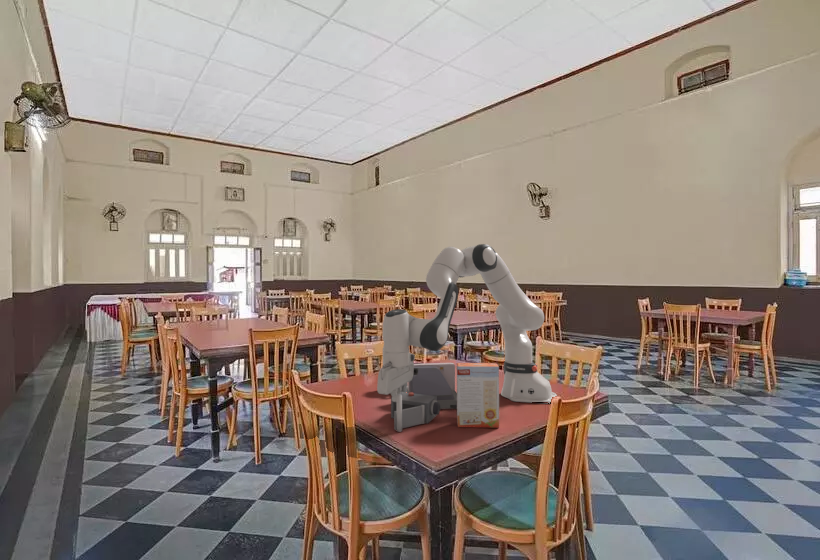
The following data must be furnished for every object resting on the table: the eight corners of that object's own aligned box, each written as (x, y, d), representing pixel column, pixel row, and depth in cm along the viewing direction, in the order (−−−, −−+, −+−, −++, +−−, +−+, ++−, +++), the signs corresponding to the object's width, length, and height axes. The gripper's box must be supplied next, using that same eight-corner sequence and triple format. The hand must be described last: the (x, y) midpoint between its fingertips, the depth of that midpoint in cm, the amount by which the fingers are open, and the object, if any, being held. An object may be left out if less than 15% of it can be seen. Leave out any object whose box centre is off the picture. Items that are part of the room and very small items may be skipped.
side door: (423, 422, 151) (423, 388, 151) (427, 424, 149) (427, 390, 148) (393, 429, 144) (393, 394, 144) (398, 432, 142) (398, 396, 142)
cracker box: (496, 422, 152) (497, 362, 151) (499, 428, 146) (499, 366, 145) (456, 421, 152) (456, 361, 152) (457, 427, 146) (457, 365, 146)
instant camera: (457, 395, 184) (457, 360, 184) (461, 411, 163) (461, 371, 163) (407, 395, 185) (407, 359, 184) (405, 411, 164) (405, 371, 163)
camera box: (441, 416, 158) (441, 394, 158) (433, 424, 149) (433, 401, 149) (401, 410, 164) (401, 389, 164) (390, 418, 156) (390, 396, 156)
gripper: (390, 366, 134) (390, 411, 134) (416, 354, 152) (416, 393, 153) (372, 364, 136) (372, 408, 137) (400, 352, 155) (400, 391, 155)
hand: (396, 400), depth 145 cm, fingers closed
